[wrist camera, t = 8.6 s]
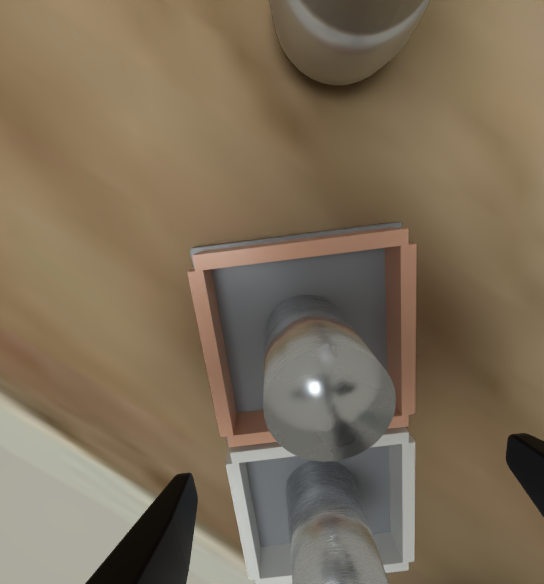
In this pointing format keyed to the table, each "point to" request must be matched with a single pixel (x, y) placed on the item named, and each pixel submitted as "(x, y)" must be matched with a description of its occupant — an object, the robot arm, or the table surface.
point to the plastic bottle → (344, 35)
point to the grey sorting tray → (250, 374)
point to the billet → (330, 528)
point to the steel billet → (322, 383)
